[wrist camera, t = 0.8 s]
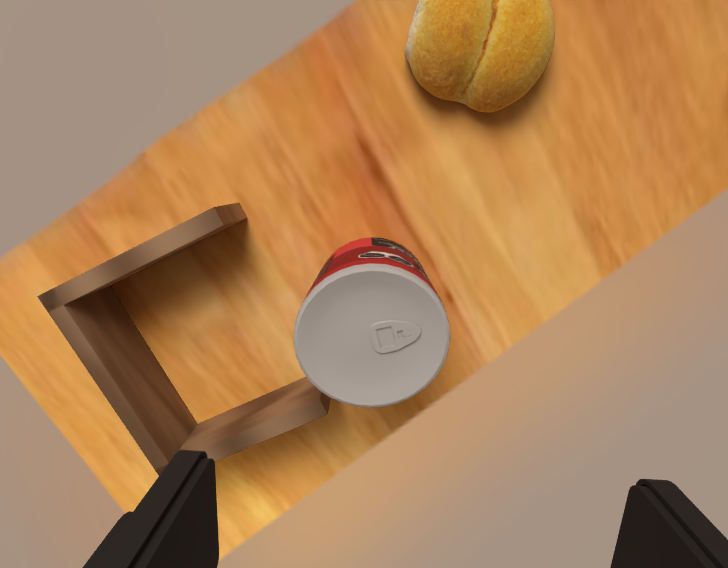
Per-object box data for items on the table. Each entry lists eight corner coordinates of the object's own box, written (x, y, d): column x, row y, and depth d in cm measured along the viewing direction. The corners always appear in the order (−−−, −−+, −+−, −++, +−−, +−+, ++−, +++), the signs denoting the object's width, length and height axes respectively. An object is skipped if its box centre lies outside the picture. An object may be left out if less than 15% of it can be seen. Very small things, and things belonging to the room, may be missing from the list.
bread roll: (517, 126, 29) (539, 119, 25) (393, 87, 29) (396, 73, 25) (565, -5, 27) (597, -36, 23) (432, -50, 27) (442, -88, 23)
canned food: (442, 305, 32) (477, 368, 21) (350, 351, 33) (339, 433, 23) (395, 215, 31) (407, 235, 20) (300, 266, 32) (263, 312, 21)
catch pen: (239, 202, 31) (213, 207, 26) (334, 380, 34) (327, 414, 29) (88, 278, 32) (37, 296, 27) (192, 441, 35) (163, 482, 31)
